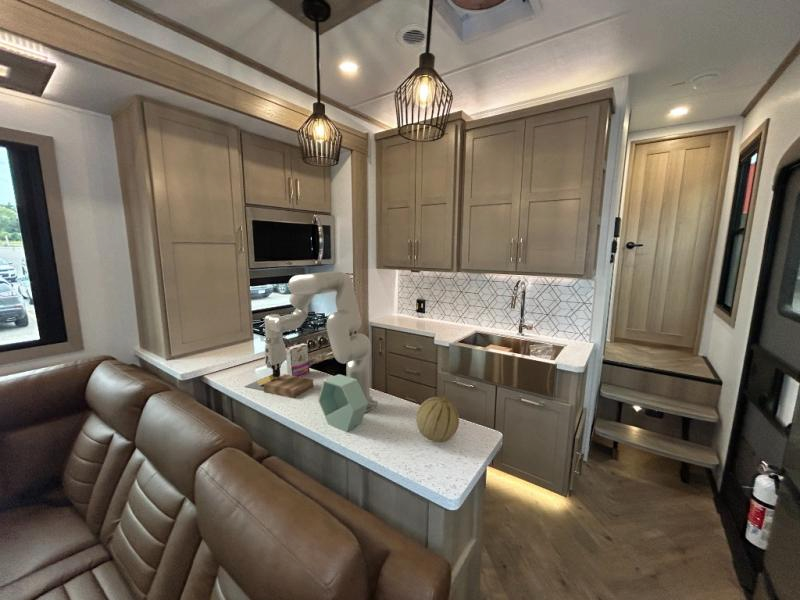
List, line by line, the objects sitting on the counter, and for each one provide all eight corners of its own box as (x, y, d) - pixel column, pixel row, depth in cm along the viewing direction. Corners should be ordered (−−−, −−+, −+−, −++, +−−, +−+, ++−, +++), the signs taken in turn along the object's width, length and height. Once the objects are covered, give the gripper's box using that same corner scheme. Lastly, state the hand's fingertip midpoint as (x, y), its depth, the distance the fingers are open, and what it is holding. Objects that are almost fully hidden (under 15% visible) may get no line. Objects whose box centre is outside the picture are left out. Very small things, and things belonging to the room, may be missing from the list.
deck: (313, 386, 161) (313, 379, 160) (293, 398, 148) (293, 390, 148) (285, 381, 168) (284, 374, 167) (264, 392, 155) (263, 384, 155)
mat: (286, 380, 169) (286, 380, 169) (265, 391, 156) (265, 390, 156) (266, 377, 175) (266, 376, 175) (244, 386, 162) (244, 386, 162)
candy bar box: (304, 371, 183) (302, 342, 181) (310, 373, 180) (308, 344, 178) (286, 377, 174) (285, 347, 172) (292, 379, 171) (290, 349, 169)
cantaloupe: (407, 438, 115) (407, 398, 113) (434, 423, 125) (434, 385, 123) (441, 456, 104) (441, 412, 102) (467, 438, 114) (467, 397, 112)
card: (279, 376, 163) (277, 371, 164) (270, 380, 158) (268, 375, 158) (268, 381, 167) (266, 377, 167) (259, 386, 162) (257, 381, 162)
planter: (333, 437, 124) (312, 387, 128) (348, 428, 130) (327, 381, 134) (360, 426, 114) (335, 372, 119) (374, 417, 120) (351, 366, 125)
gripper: (268, 344, 150) (270, 383, 152) (291, 337, 163) (293, 372, 166) (256, 343, 153) (258, 380, 155) (279, 335, 166) (282, 370, 169)
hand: (276, 376), depth 160 cm, fingers closed
